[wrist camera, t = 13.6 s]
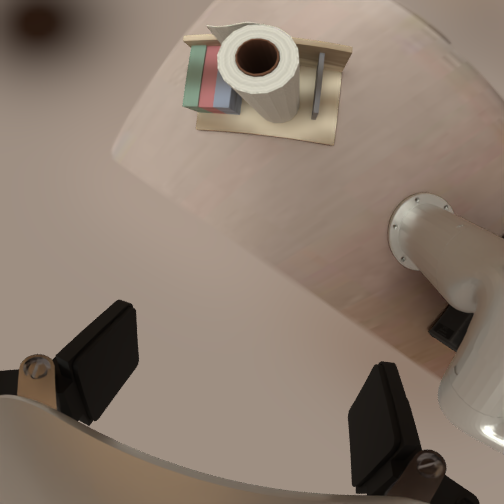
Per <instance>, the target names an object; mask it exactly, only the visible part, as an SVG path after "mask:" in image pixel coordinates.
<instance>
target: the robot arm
mask: <svg viewBox="0 0 504 504" xmlns="http://www.w3.org/2000/svg"><path fill="white" fill-rule="evenodd" d="M415 198H416V201H415ZM444 206H445V207H444ZM394 224H395V227H393V225H394ZM388 242H389V246H390V249H391V251H392V253H393V255H394V256H395V258H396V259H397V260H398V261H399V262H400V263H401V264H402V265H403V266H405V267H406V268H409V269H411V270H416V271H421V272H422V273H423V274H424V276H425V277H426V278H427V279H428V280H429V281H430V282H431V284H432V285H433V286H434V287H435V288H436V289H437V291H438V292H439V293H440V294H441V295H442V296H443V297H444V299H445V300H446V301H447V302H448V303H449V304H450V305H451V306H452V307H454V308H455V309H457V310H459V311H462V312H466V313H474V315H473V318H472V320H471V322H470V324H469V326H468V329H467V332H466V335H465V337H464V339H463V341H462V343H461V345H460V346H459V348H458V350H457V352H456V354H455V356H454V358H453V360H452V361H451V363H450V365H449V367H448V369H447V370H446V372H445V374H444V376H443V378H442V380H441V383H440V386H439V390H438V402H439V405H440V408H441V410H442V412H443V414H444V415H445V417H446V418H447V419H448V420H449V421H450V422H451V423H452V424H453V425H454V426H455V427H457V428H458V429H459V430H461V431H462V432H464V433H465V434H467V435H469V436H470V437H472V438H474V439H476V440H477V441H479V442H481V443H483V444H485V445H487V446H489V447H490V448H492V449H494V450H496V451H498V452H500V453H502V454H504V239H503V238H501V237H499V236H497V235H495V234H493V233H491V232H489V231H487V230H485V229H483V228H481V227H479V226H477V225H475V224H473V223H471V222H469V221H467V220H465V219H463V218H461V217H459V216H457V215H455V214H454V212H453V210H452V208H451V207H450V205H449V204H448V203H447V202H446V201H445V200H444V199H442V198H441V197H439V196H437V195H435V194H431V193H417V194H414V195H411V196H409V197H408V198H406V199H405V200H403V201H402V202H401V203H400V204H399V205H398V207H397V208H396V210H395V211H394V213H393V215H392V217H391V219H390V223H389V227H388ZM401 257H403V258H402V259H401ZM138 362H139V354H138V340H137V322H136V310H135V309H134V308H133V305H132V304H131V303H128V302H125V301H122V300H117V301H116V302H114V303H113V304H112V305H111V306H110V307H109V308H108V309H107V310H106V311H104V312H103V313H102V314H101V315H100V316H99V317H97V318H96V319H95V320H94V321H93V322H92V323H91V324H89V325H88V326H87V327H86V328H85V329H84V330H83V331H82V332H81V333H79V334H78V335H77V336H76V337H75V338H74V339H73V340H72V341H71V342H70V343H68V344H67V345H66V346H65V347H64V348H63V349H62V350H61V351H60V352H59V353H58V354H57V355H56V357H55V358H54V359H53V360H52V359H51V358H49V357H48V356H45V355H42V354H35V355H31V356H28V357H27V358H25V359H24V360H23V361H22V363H21V364H20V368H19V369H18V370H6V371H0V504H479V500H478V499H477V497H476V496H475V495H474V494H472V493H471V492H469V491H468V490H466V489H465V488H463V487H462V486H460V485H459V484H457V483H456V482H455V481H453V480H452V479H450V478H449V477H447V476H446V475H445V473H446V462H445V460H444V458H443V457H442V456H441V455H440V454H439V453H438V452H435V451H433V450H422V448H421V445H420V440H419V436H418V433H417V429H416V425H415V422H414V418H413V415H412V411H411V408H410V405H409V401H408V399H407V398H406V395H405V391H404V388H403V385H402V382H401V379H400V376H399V373H398V370H397V367H396V365H395V363H390V362H382V361H381V362H380V363H379V364H378V365H377V364H376V365H374V367H373V369H372V371H371V372H370V375H369V376H368V378H367V380H366V382H365V384H364V385H363V387H362V389H361V391H360V393H359V394H358V396H357V398H356V400H355V401H354V403H353V405H352V406H351V408H350V410H349V414H348V424H349V438H350V453H351V474H352V486H353V487H356V493H357V494H360V493H361V494H365V493H366V494H367V495H334V494H320V493H319V494H318V493H307V492H298V491H289V490H282V489H275V488H269V487H263V486H257V485H252V484H247V483H242V482H237V481H233V480H228V479H224V478H220V477H216V476H213V475H209V474H205V473H202V472H198V471H195V470H192V469H189V468H185V467H182V466H179V465H176V464H173V463H170V462H168V461H165V460H162V459H159V458H156V457H154V456H151V455H149V454H146V453H144V452H141V451H139V450H136V449H134V448H132V447H129V446H127V445H125V444H122V443H120V442H118V441H116V440H114V439H112V438H110V437H108V436H105V435H103V434H101V433H99V432H97V431H95V430H93V429H91V428H89V427H87V426H85V425H83V424H82V423H80V422H78V421H79V420H80V421H81V422H83V423H85V424H87V425H88V426H89V425H90V424H91V423H92V422H93V420H94V421H97V420H98V419H99V418H100V416H101V415H102V413H103V412H104V411H105V409H106V407H108V405H109V404H110V402H111V401H112V400H113V398H114V397H115V395H116V394H117V393H118V391H119V390H120V389H121V387H122V386H123V385H124V383H125V382H126V381H127V379H128V378H129V377H130V375H131V374H132V373H133V371H134V370H135V368H136V367H137V365H138Z"/></svg>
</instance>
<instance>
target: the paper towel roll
mask: <svg viewBox="0 0 504 504" xmlns="http://www.w3.org/2000/svg"><path fill="white" fill-rule="evenodd" d="M206 26H207V27H208V29H209V30H210V31H211V32H212V34H213V35H214V36H215V37H216V38H217V40H218V41H219V42H220V43H221V47H220V49H219V52H218V54H217V62H218V70H219V72H220V74H221V76H222V78H223V80H224V81H225V82H226V83H227V84H228V85H229V86H230V87H231V88H233V89H234V90H235V91H236V92H237V93H238V94H239V95H240V96H241V97H242V98H243V99H244V100H245V101H246V102H247V103H248V104H249V105H250V106H252V107H253V108H254V109H255V110H256V111H257V112H258V113H259V114H260V115H261V116H262V117H263V118H264V119H265V120H267V121H269V122H272V123H284V122H287V121H289V120H291V119H292V118H293V117H294V116H295V115H296V114H297V112H298V109H299V96H300V75H299V52H298V47H297V46H296V44H295V42H294V41H293V39H292V37H291V36H290V35H288V34H287V33H285V32H284V31H283V30H281V29H280V28H278V27H274V26H269V25H265V24H258V23H251V22H243V23H238V24H233V25H228V26H210V25H206Z"/></svg>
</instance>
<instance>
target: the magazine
mask: <svg viewBox="0 0 504 504" xmlns="http://www.w3.org/2000/svg"><path fill="white" fill-rule="evenodd" d="M503 239H504V238H503ZM473 315H474V313H466V312H462V311H459V310H457V309H455V308H454V307H452V306H451V305H450V306H449V307H448V308H447V310H446V311H445V312H444V314H443V315H442V316H441V317H440V319H439V320H438V321H437V322H436V324H435V325H434V326H433V327H432V329H431V330H429V331H428V332H429V333H430V335H431V336H432V337H434V338H436V339H437V340H439V341H440V342H442V343H443V344H445V345H446V346H448V347H449V348H451V349H452V350H454V351H455V352H457V350H458V348H459V346H460V345H461V343H462V341H463V339H464V337H465V335H466V332H467V329H468V326H469V324H470V322H471V320H472V318H473Z"/></svg>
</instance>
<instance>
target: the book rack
mask: <svg viewBox="0 0 504 504" xmlns="http://www.w3.org/2000/svg"><path fill="white" fill-rule="evenodd" d="M292 39H293V41H294V42H295V44H296V46H297V47H298V52H299V75H300V96H299V109H298V112H297V114H296V115H295V116H294V117H293V118H292V119H291V120H289V121H287V122H284V123H272V122H269V121H267V120H265V119H264V118H263V117H262V116H261V115H260V114H259V113H258V112H257V111H256V110H255V109H254V108H253V107H252V106H250V105H249V104H248V103H247V102H246V101H245V100H244V99H243V98H242V97H241V96H240V95H239V94H238V93H237V92H236V91H235V90H234V89H233V88H231V87H230V86H229V85H228V84H227V83H226V82H225V81H224V80H223V78H222V76H221V74H220V72H219V70H218V62H217V54H218V52H219V49H220V47H221V43H220V42H219V41H218V40H217V38H216V37H215V36H214V35H213V34H205V35H187V36H184V39H183V41H184V42H185V43H186V44H187V45H188V46H190V47H191V52H190V58H189V64H188V71H187V77H186V84H185V91H184V99H183V107H186V108H189V109H192V110H194V111H197V112H198V114H197V123H196V129H197V130H208V131H223V132H235V133H246V134H256V135H265V136H273V137H281V138H288V139H295V140H302V141H308V142H314V143H320V144H326V145H331V146H333V145H334V139H335V131H336V123H337V114H338V106H339V96H340V86H341V76H342V71H343V69H344V67H345V65H346V63H347V62H348V60H349V58H350V56H351V54H352V47H350V46H345V45H340V44H334V43H329V42H323V41H316V40H309V39H301V38H293V37H292Z"/></svg>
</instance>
